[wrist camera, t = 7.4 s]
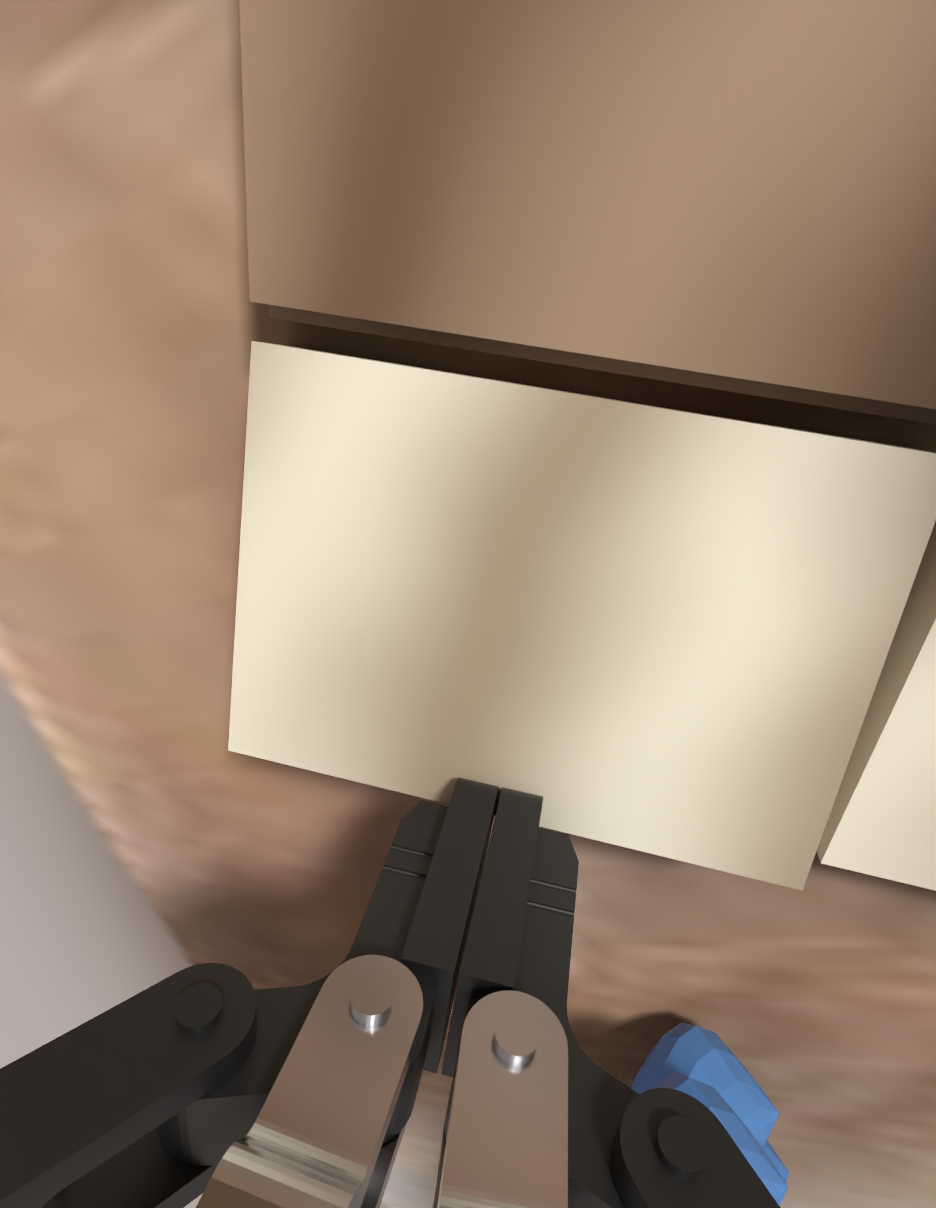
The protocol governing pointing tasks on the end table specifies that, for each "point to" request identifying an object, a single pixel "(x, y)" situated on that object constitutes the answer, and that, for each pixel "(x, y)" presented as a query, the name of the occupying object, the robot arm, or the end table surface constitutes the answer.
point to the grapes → (718, 1094)
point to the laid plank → (607, 185)
